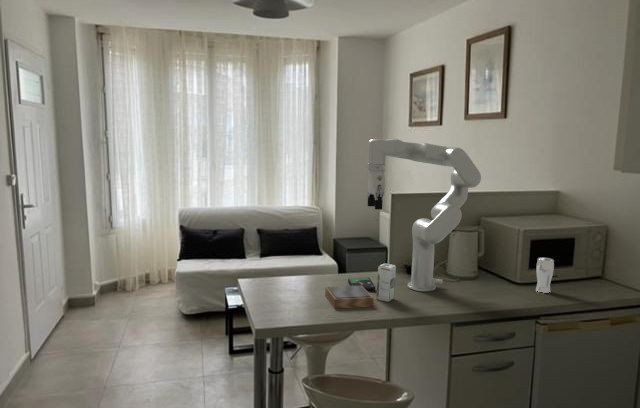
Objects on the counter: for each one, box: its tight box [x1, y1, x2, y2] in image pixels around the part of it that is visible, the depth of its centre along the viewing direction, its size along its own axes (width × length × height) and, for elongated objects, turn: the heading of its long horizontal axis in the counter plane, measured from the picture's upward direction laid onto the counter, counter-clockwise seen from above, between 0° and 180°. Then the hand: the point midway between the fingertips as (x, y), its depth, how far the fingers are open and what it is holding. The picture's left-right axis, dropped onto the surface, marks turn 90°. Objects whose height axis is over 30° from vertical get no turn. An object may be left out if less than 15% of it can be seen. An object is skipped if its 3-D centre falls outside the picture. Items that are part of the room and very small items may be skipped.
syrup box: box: [376, 263, 397, 303], centre depth 196 cm, size 6×6×14 cm
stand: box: [324, 285, 375, 309], centre depth 193 cm, size 16×16×4 cm
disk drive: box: [347, 277, 376, 293], centre depth 213 cm, size 10×3×15 cm
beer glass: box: [535, 257, 555, 294], centre depth 212 cm, size 7×7×15 cm
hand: (374, 207), depth 204 cm, fingers open, 9 cm apart
